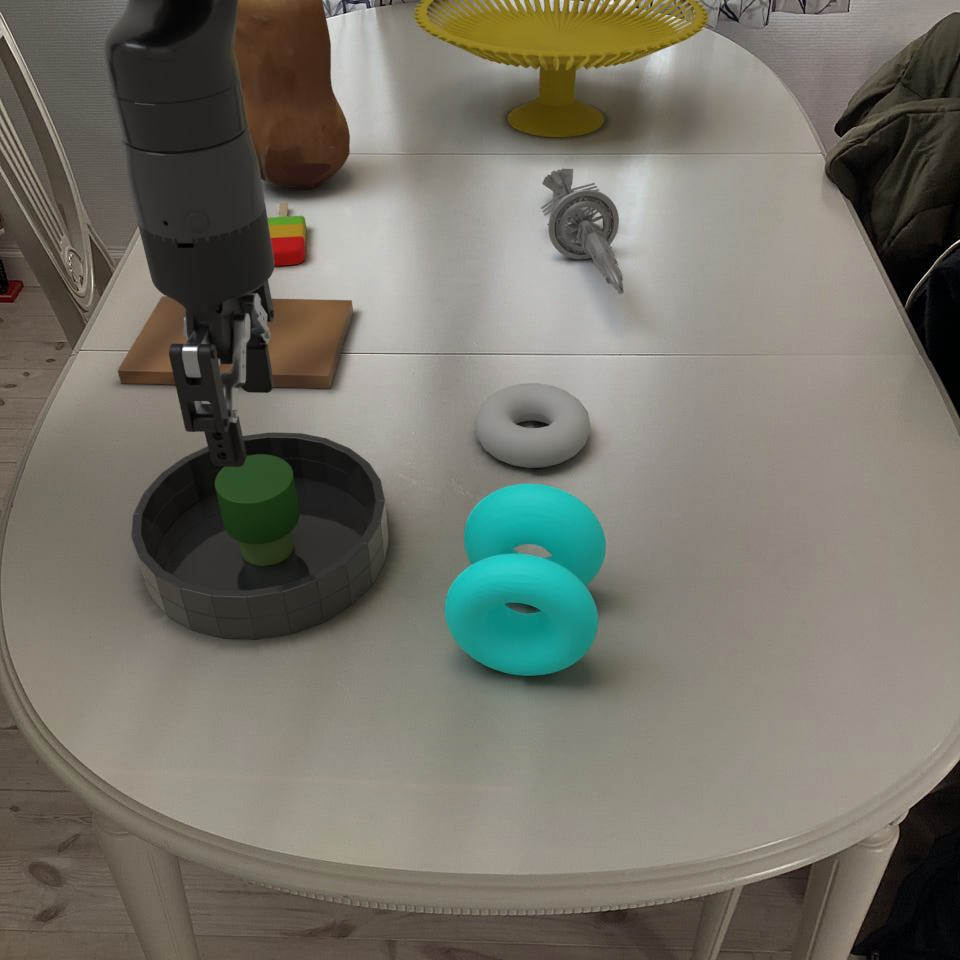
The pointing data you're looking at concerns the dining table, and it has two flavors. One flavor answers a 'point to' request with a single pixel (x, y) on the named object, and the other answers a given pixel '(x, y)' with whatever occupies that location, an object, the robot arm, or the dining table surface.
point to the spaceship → (583, 224)
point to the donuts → (527, 581)
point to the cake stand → (560, 48)
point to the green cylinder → (259, 507)
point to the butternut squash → (290, 91)
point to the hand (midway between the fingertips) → (245, 425)
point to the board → (292, 346)
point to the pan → (250, 588)
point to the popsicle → (287, 237)
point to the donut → (532, 443)
